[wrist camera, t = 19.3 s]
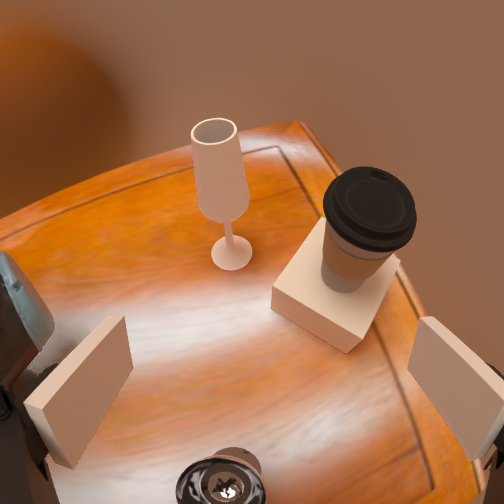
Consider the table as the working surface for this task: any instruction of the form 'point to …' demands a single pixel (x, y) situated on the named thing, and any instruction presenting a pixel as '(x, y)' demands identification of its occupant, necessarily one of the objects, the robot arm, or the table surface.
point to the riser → (328, 296)
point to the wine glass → (222, 479)
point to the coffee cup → (363, 225)
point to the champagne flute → (221, 187)
